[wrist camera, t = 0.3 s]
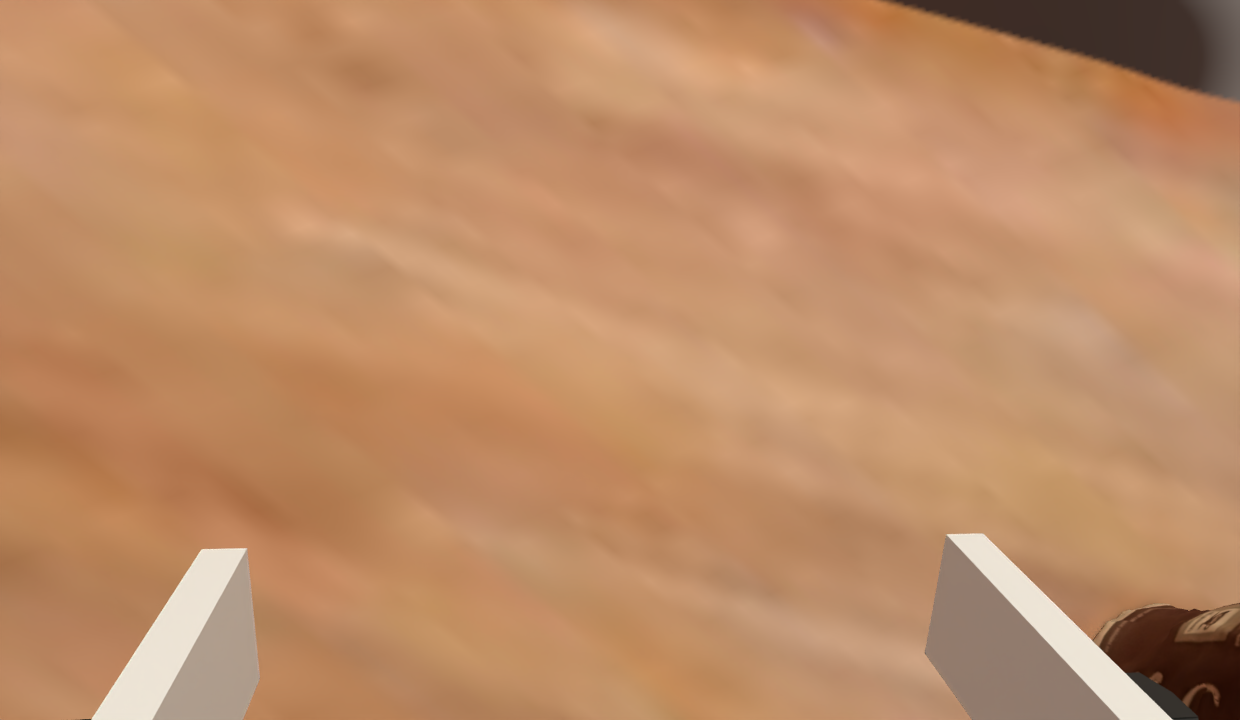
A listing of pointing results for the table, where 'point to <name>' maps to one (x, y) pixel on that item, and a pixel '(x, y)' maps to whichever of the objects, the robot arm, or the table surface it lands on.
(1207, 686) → the coffee cup
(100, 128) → the table surface
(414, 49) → the table surface
